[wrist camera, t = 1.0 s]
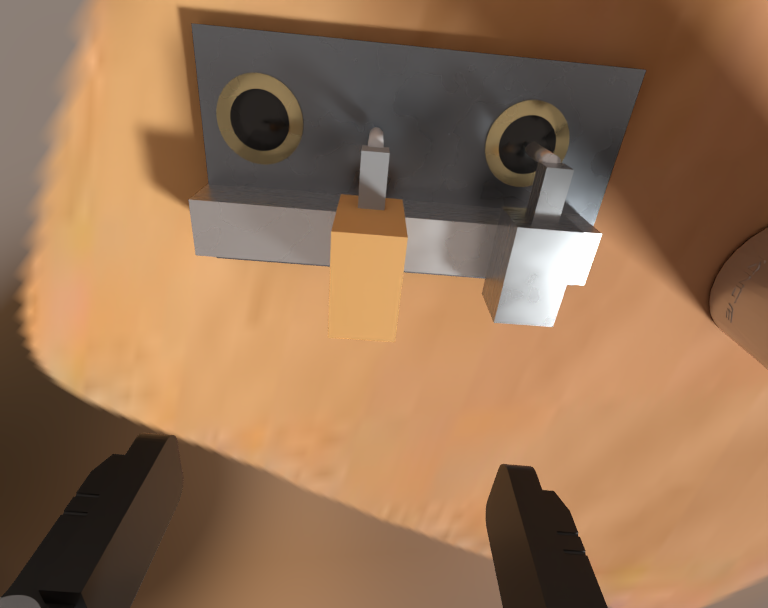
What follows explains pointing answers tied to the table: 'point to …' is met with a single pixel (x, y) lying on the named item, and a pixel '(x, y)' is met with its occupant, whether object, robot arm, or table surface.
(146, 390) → the table surface
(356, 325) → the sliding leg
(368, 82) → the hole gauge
